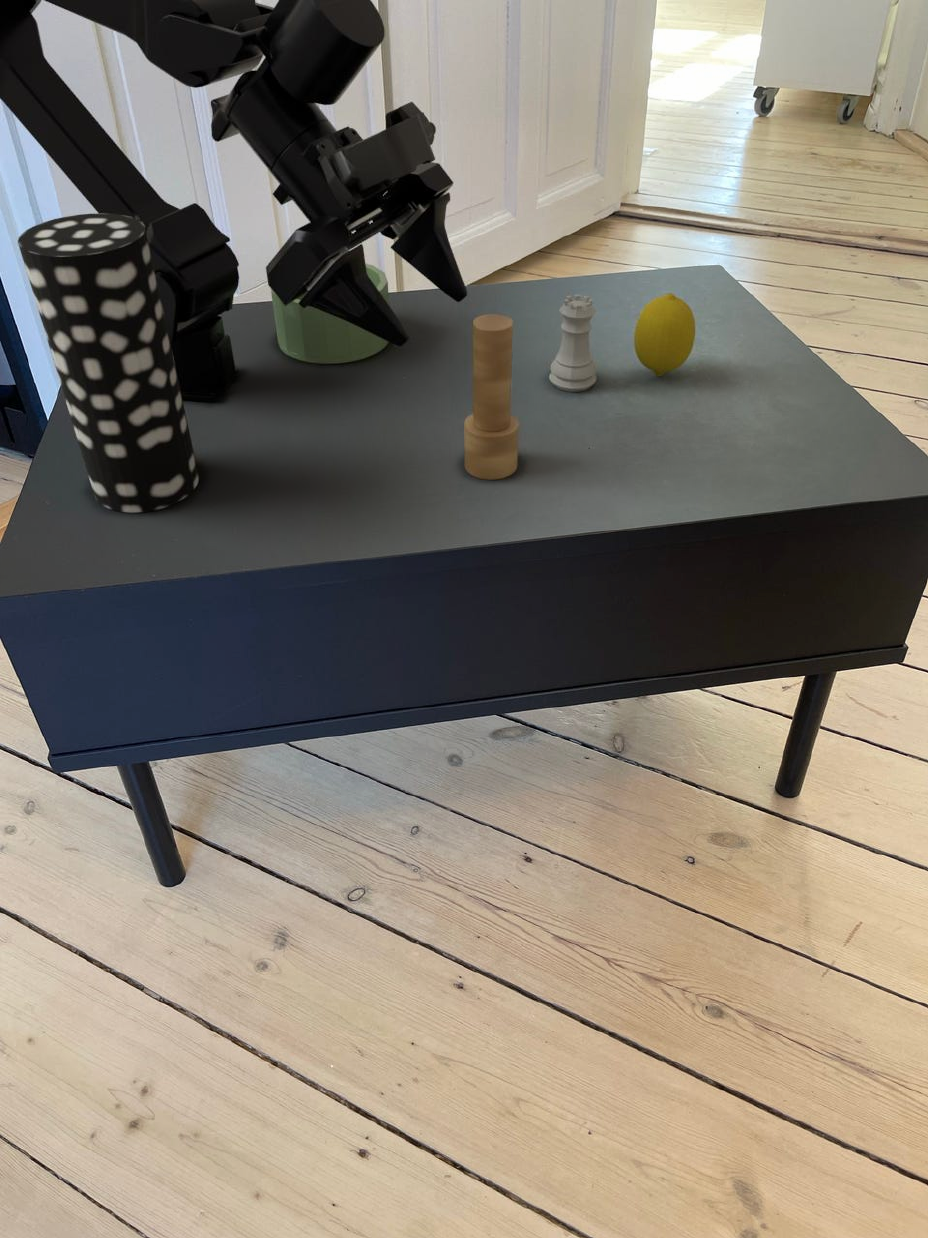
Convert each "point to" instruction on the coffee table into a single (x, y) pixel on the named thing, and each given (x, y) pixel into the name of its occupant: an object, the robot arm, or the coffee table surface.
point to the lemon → (664, 334)
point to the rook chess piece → (574, 347)
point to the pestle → (491, 402)
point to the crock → (325, 330)
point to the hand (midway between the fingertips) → (435, 319)
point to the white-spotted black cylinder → (113, 357)
